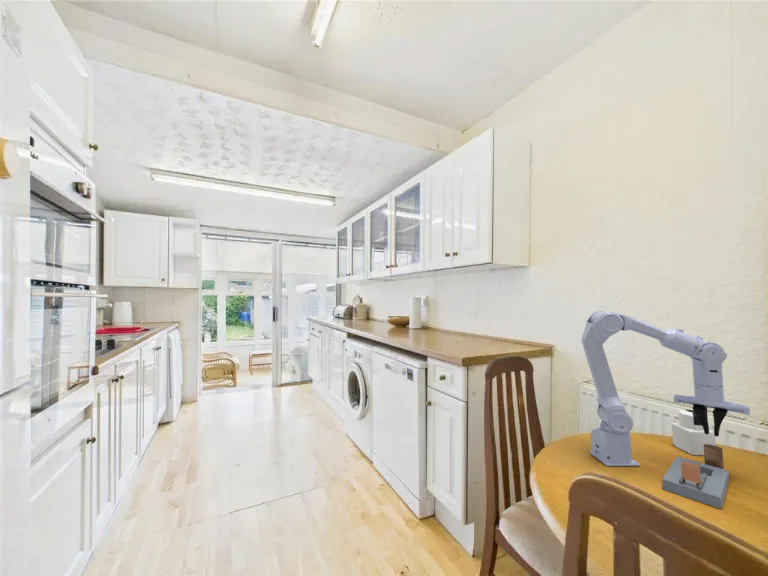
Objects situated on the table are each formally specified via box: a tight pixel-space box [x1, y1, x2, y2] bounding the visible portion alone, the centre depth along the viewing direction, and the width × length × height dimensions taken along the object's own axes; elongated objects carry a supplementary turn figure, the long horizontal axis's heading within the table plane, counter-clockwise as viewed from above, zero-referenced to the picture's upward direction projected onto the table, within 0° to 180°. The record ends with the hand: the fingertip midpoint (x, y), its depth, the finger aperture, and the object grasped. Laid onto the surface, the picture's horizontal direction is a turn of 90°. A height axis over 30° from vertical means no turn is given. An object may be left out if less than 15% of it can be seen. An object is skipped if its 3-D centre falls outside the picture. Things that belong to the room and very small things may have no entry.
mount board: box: [661, 456, 730, 510], centre depth 80 cm, size 18×10×3 cm, turn 128°
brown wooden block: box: [703, 444, 725, 469], centre depth 86 cm, size 4×4×6 cm
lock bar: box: [681, 461, 701, 487], centre depth 78 cm, size 7×3×4 cm, turn 128°
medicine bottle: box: [671, 409, 717, 456], centre depth 99 cm, size 7×7×12 cm
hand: (711, 434), depth 87 cm, fingers closed
